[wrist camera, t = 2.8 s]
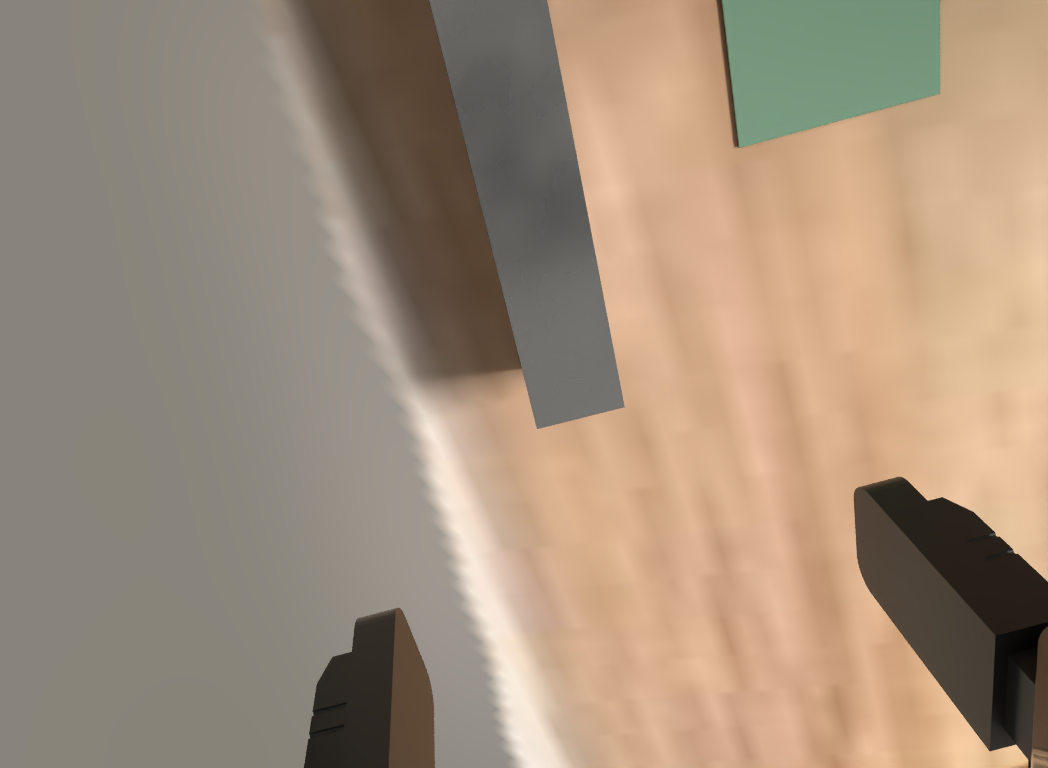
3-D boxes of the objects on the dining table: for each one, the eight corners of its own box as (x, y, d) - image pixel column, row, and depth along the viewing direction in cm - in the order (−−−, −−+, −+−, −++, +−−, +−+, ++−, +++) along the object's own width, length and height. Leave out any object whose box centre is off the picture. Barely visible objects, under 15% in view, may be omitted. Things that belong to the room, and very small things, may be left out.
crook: (364, -260, 18) (348, -322, 15) (681, -341, 18) (742, -423, 15) (522, 368, 26) (537, 428, 22) (748, 311, 26) (799, 363, 22)
